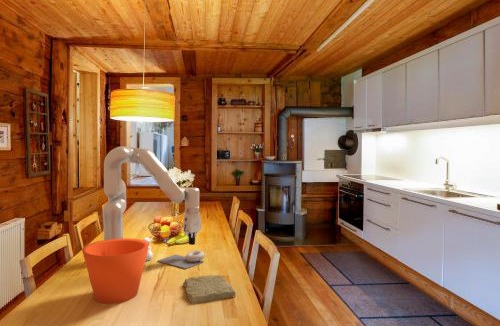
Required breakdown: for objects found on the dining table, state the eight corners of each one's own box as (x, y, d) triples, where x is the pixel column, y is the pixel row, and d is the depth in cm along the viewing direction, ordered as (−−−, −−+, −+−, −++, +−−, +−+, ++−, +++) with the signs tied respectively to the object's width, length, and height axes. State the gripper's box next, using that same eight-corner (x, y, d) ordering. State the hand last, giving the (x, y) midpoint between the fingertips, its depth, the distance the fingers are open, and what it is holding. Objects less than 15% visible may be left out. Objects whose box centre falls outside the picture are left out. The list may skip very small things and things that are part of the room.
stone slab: (220, 280, 160) (220, 272, 160) (236, 298, 142) (236, 289, 142) (179, 286, 153) (179, 278, 153) (190, 305, 134) (190, 296, 134)
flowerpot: (160, 294, 143) (161, 246, 142) (100, 315, 124) (100, 260, 123) (129, 278, 160) (129, 235, 159) (71, 295, 141) (71, 246, 140)
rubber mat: (185, 269, 173) (185, 268, 173) (157, 261, 184) (157, 260, 183) (203, 262, 184) (203, 261, 184) (175, 255, 194) (175, 254, 194)
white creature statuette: (146, 255, 193) (146, 234, 193) (158, 258, 189) (158, 236, 189) (132, 260, 185) (133, 237, 184) (145, 263, 181) (145, 240, 180)
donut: (183, 259, 187) (189, 264, 178) (182, 253, 187) (188, 257, 178) (200, 254, 192) (207, 258, 183) (199, 248, 192) (207, 252, 183)
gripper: (187, 213, 181) (187, 248, 182) (206, 209, 194) (206, 242, 195) (177, 211, 185) (176, 246, 186) (196, 208, 198) (195, 240, 199)
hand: (191, 244), depth 190 cm, fingers closed
